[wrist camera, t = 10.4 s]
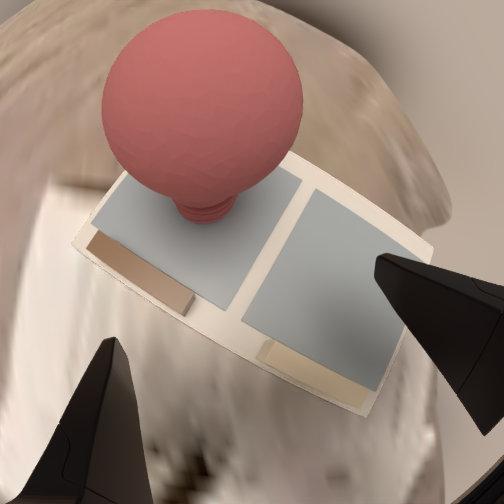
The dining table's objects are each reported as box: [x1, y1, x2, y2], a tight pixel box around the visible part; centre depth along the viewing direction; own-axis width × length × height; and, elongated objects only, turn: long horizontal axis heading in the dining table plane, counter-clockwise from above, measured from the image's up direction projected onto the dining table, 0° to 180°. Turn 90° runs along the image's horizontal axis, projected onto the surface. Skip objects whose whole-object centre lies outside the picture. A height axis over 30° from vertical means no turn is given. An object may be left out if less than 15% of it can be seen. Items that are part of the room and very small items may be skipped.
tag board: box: [71, 151, 434, 418], centre depth 18 cm, size 21×13×3 cm, turn 60°
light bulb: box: [102, 10, 303, 223], centre depth 12 cm, size 7×7×12 cm
